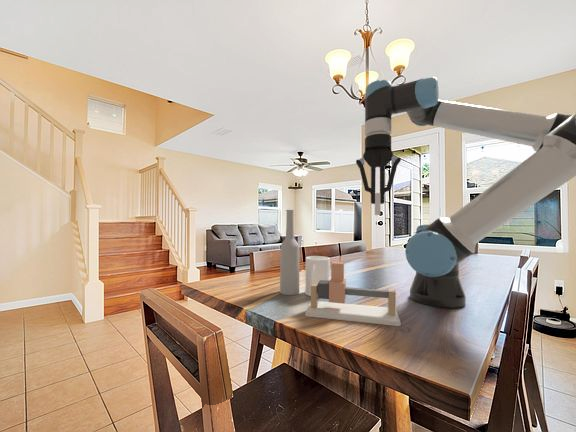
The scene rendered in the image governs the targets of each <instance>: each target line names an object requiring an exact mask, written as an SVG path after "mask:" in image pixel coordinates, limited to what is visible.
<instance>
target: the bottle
mask: <svg viewBox="0 0 576 432" xmlns="http://www.w3.org/2000/svg"><path fill="white" fill-rule="evenodd" d="M285 211H286V229H285V238H284V240H283V241H282V242H281V244H280V253H279V254H280V255H279V256H280V257H279V259H280V263H279V266H280V267H279V270H280V271H279V274H280V275H279V293H280V294H281V295H283V296H296V295H299V294H300V244H299V243H298V242H297V240H296V239H295V229H294V228H295V227H294V222H295V221H294V215H295V214H294V211H295V210H294V209H286V210H285Z"/></svg>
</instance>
